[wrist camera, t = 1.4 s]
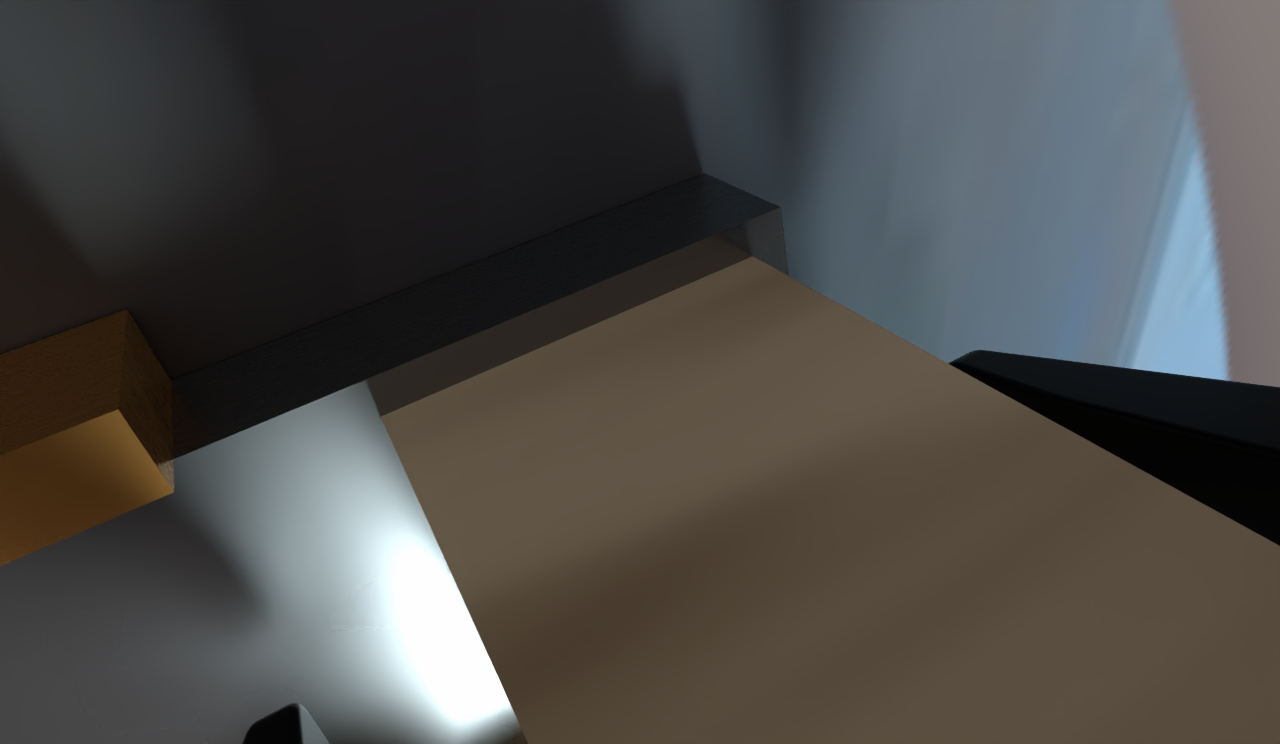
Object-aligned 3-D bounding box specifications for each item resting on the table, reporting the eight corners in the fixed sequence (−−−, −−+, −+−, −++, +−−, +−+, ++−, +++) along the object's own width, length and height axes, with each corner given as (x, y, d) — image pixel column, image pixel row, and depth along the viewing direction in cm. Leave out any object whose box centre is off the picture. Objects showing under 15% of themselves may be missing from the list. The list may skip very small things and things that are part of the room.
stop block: (790, 532, 11) (1282, 1003, 6) (505, 690, 10) (839, 1424, 5) (753, 256, 9) (1474, 651, 4) (380, 416, 7) (759, 1258, 3)
